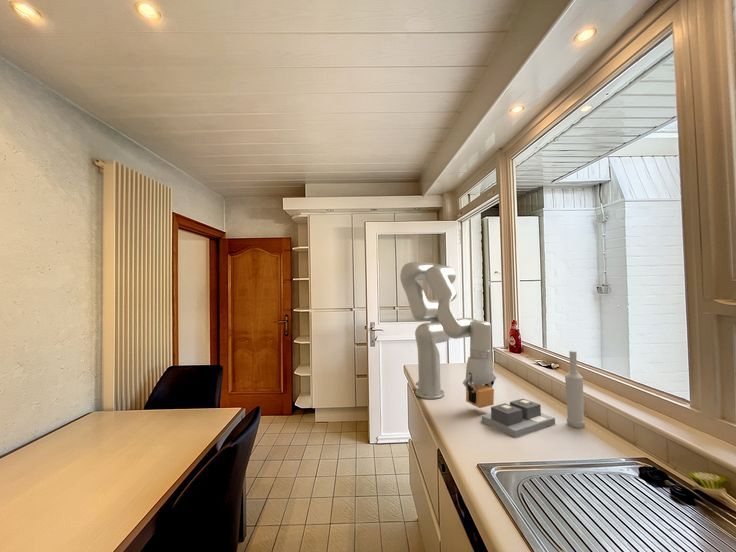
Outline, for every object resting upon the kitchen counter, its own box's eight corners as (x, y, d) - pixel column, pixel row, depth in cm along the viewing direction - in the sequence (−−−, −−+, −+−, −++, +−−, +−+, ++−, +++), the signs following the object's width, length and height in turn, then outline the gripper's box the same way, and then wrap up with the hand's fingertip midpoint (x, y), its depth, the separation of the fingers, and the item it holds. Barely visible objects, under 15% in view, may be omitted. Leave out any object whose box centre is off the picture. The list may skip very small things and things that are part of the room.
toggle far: (520, 412, 116) (519, 401, 116) (524, 411, 117) (524, 399, 118) (526, 414, 114) (525, 403, 114) (530, 413, 115) (530, 401, 115)
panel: (481, 421, 116) (481, 404, 116) (519, 410, 125) (519, 394, 125) (515, 437, 103) (514, 418, 103) (555, 423, 112) (554, 406, 112)
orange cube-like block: (466, 401, 126) (466, 385, 125) (479, 398, 129) (479, 383, 129) (479, 408, 119) (480, 391, 119) (493, 404, 122) (493, 388, 122)
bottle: (585, 429, 107) (582, 353, 108) (566, 426, 110) (563, 352, 111) (584, 423, 112) (581, 350, 112) (566, 420, 115) (564, 349, 115)
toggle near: (501, 417, 112) (501, 406, 112) (506, 416, 113) (505, 404, 113) (507, 420, 110) (506, 408, 110) (512, 418, 111) (511, 407, 111)
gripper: (489, 349, 131) (488, 393, 131) (455, 354, 123) (455, 400, 123) (504, 353, 124) (503, 399, 125) (470, 358, 116) (469, 408, 117)
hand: (479, 399), depth 124 cm, fingers closed on orange cube-like block, 7 cm apart
